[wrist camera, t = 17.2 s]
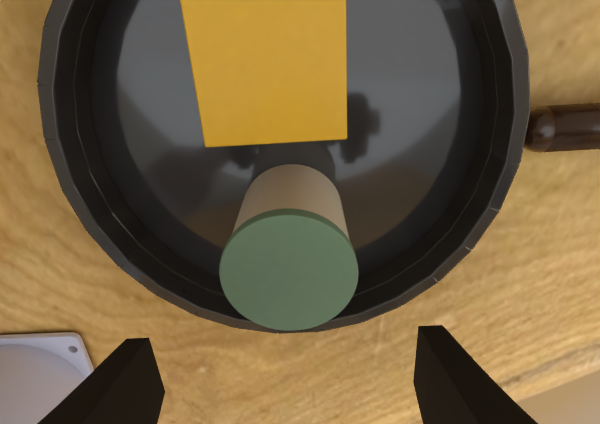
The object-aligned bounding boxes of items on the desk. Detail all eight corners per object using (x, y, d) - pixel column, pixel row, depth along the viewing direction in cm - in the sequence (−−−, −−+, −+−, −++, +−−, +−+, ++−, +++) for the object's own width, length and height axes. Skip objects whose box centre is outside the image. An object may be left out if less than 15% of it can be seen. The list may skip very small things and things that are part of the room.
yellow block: (332, 102, 17) (347, 139, 11) (235, 108, 17) (204, 147, 12) (329, -53, 14) (345, -100, 9) (216, -45, 14) (164, -86, 9)
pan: (464, 284, 21) (489, 325, 19) (138, 299, 22) (114, 341, 19) (527, -143, 14) (588, -188, 11) (19, -103, 14) (-54, -135, 11)
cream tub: (344, 252, 20) (358, 328, 15) (247, 256, 20) (229, 334, 15) (343, 158, 18) (359, 211, 13) (234, 164, 18) (208, 219, 13)
